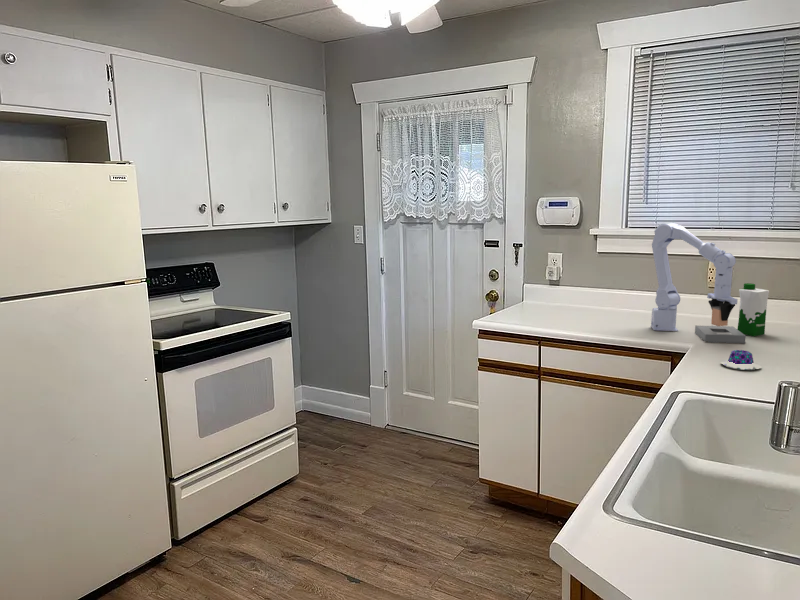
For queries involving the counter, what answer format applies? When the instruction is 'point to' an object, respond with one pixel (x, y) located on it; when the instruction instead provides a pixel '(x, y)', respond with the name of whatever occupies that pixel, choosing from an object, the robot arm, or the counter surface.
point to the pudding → (741, 357)
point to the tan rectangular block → (717, 317)
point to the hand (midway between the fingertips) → (720, 319)
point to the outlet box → (720, 334)
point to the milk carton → (752, 310)
